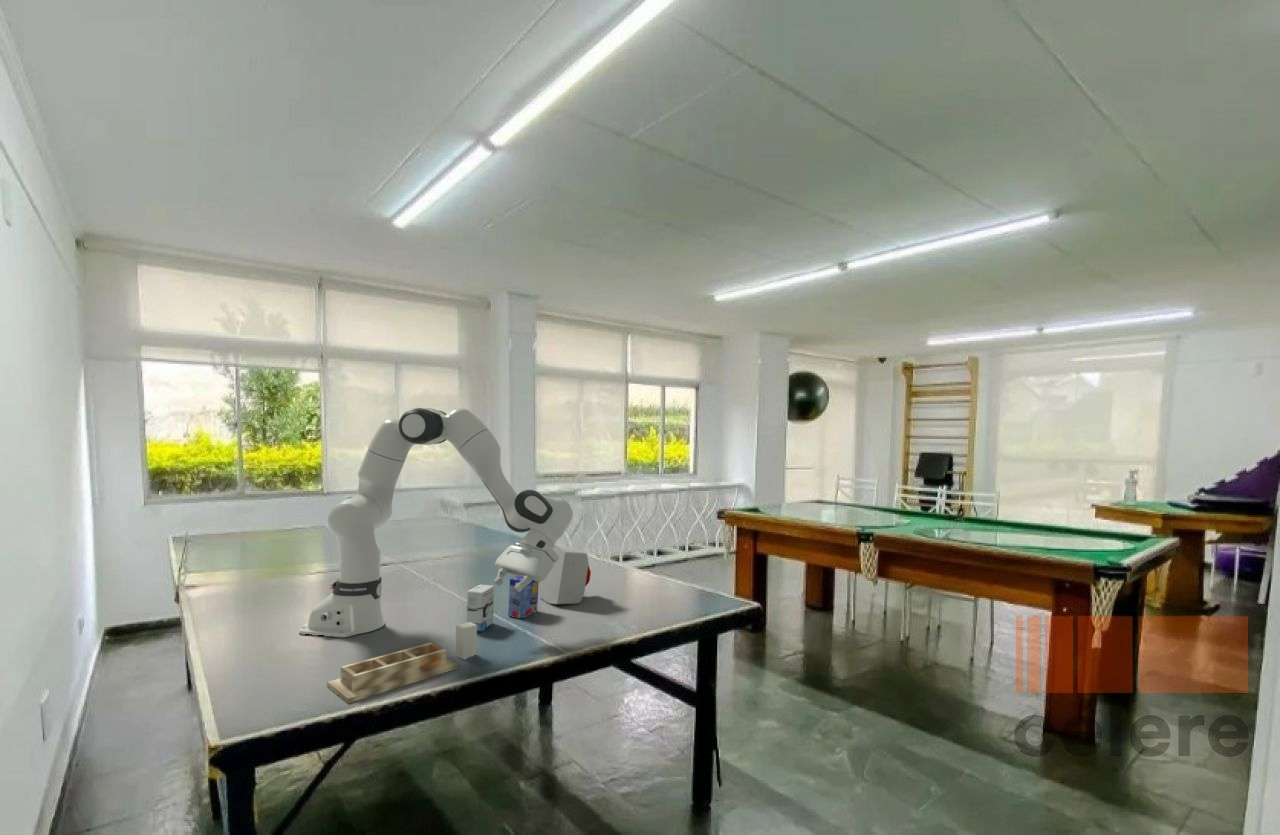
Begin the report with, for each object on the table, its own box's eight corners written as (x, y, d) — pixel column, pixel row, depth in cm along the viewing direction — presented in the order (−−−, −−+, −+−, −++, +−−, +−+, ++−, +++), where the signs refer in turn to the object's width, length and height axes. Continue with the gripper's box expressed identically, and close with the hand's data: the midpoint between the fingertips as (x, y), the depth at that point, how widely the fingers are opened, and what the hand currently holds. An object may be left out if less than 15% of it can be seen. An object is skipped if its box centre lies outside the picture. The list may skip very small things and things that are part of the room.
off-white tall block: (455, 656, 151) (456, 625, 151) (469, 652, 154) (469, 621, 154) (462, 659, 149) (463, 628, 149) (476, 655, 152) (477, 624, 152)
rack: (347, 703, 124) (348, 682, 124) (326, 686, 132) (327, 666, 132) (457, 668, 143) (457, 650, 143) (433, 655, 151) (433, 638, 151)
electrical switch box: (593, 607, 203) (602, 550, 205) (556, 608, 194) (565, 548, 197) (573, 598, 215) (581, 543, 217) (537, 597, 206) (546, 541, 209)
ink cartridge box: (522, 619, 182) (523, 573, 182) (507, 617, 184) (508, 571, 184) (538, 611, 191) (539, 567, 191) (524, 608, 193) (525, 565, 194)
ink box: (481, 632, 169) (482, 592, 170) (465, 631, 170) (466, 591, 171) (494, 623, 178) (495, 585, 178) (479, 622, 179) (480, 584, 179)
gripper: (508, 535, 174) (479, 573, 166) (551, 545, 160) (521, 587, 153) (520, 548, 177) (491, 586, 170) (563, 559, 163) (534, 600, 156)
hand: (506, 587), depth 161 cm, fingers open, 8 cm apart
